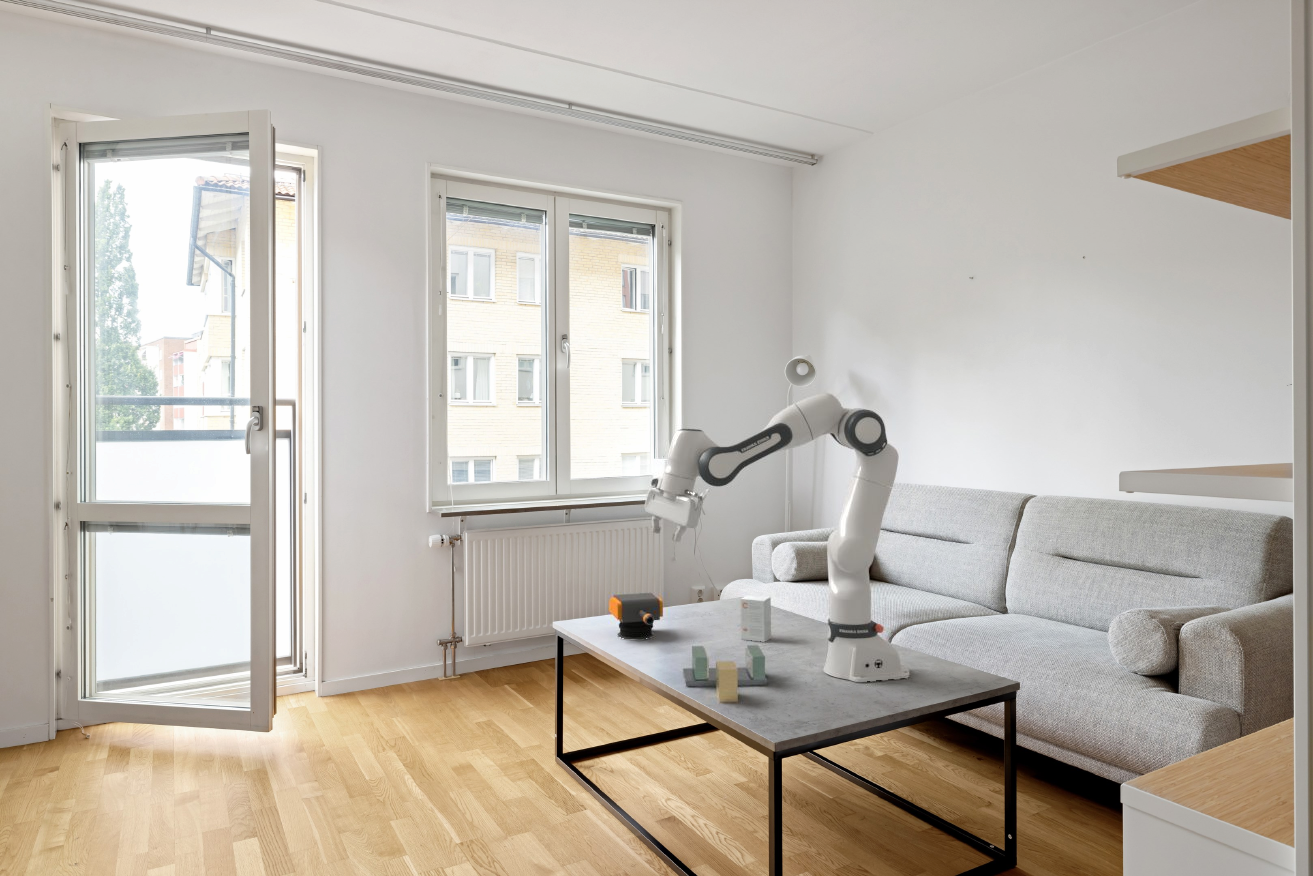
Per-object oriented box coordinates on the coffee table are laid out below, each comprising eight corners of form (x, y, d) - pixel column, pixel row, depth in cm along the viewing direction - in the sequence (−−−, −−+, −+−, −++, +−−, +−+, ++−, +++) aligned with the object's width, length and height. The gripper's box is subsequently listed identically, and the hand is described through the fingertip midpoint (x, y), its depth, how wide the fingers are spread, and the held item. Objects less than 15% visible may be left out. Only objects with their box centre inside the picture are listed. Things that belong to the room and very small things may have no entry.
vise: (760, 672, 226) (759, 645, 226) (766, 685, 215) (766, 656, 215) (683, 674, 226) (682, 646, 225) (685, 686, 215) (685, 657, 214)
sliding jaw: (705, 667, 226) (704, 646, 226) (709, 679, 215) (708, 657, 215) (692, 667, 226) (692, 646, 226) (695, 679, 215) (695, 657, 215)
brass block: (733, 693, 210) (733, 661, 209) (737, 702, 203) (737, 669, 202) (716, 693, 209) (715, 661, 209) (719, 702, 202) (719, 669, 202)
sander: (626, 651, 249) (626, 609, 249) (608, 631, 273) (608, 593, 273) (673, 647, 253) (673, 605, 253) (651, 628, 277) (651, 590, 277)
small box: (771, 638, 263) (771, 596, 263) (764, 642, 258) (764, 600, 258) (747, 635, 267) (747, 594, 267) (740, 639, 261) (740, 598, 261)
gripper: (710, 495, 217) (698, 547, 217) (664, 481, 233) (653, 529, 233) (691, 492, 213) (679, 544, 213) (646, 478, 230) (635, 527, 230)
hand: (665, 536), depth 223 cm, fingers open, 8 cm apart
